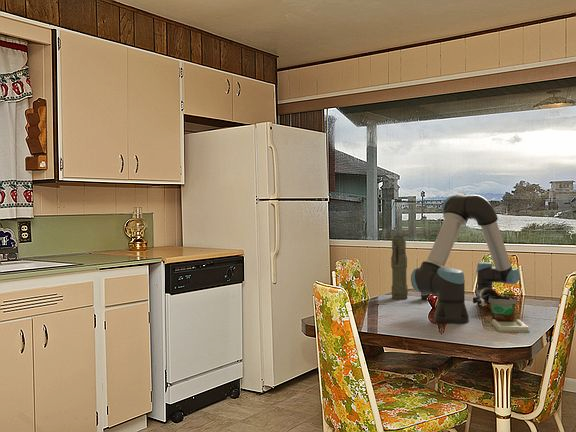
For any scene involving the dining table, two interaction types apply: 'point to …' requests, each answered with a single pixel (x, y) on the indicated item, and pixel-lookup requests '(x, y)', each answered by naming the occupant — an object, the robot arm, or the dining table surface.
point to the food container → (502, 309)
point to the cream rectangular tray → (510, 326)
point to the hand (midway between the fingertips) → (498, 303)
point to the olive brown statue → (399, 268)
